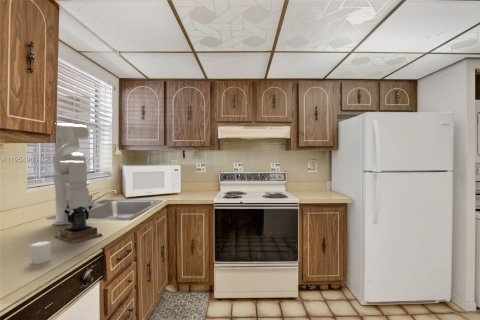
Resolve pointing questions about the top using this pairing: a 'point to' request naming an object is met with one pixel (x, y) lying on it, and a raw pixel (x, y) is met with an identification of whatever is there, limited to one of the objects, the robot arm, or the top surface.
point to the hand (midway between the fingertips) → (78, 220)
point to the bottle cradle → (78, 234)
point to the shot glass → (40, 252)
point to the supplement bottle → (78, 220)
